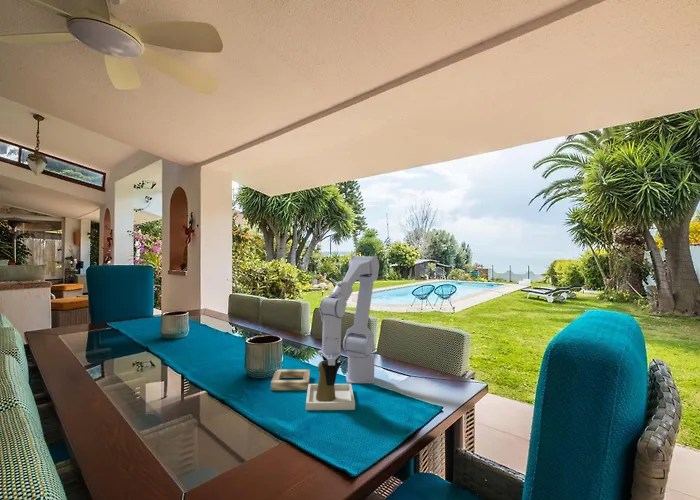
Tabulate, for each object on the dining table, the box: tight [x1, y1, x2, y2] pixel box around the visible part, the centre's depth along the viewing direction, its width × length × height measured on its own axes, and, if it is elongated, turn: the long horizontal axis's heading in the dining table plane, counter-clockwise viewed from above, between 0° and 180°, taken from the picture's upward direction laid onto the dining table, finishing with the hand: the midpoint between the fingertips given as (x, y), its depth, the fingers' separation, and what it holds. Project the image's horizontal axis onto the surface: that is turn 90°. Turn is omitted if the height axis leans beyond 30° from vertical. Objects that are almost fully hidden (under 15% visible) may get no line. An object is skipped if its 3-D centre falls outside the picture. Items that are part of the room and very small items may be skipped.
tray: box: [305, 383, 356, 411], centre depth 103 cm, size 14×14×2 cm
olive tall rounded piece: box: [316, 360, 336, 402], centre depth 103 cm, size 6×6×11 cm
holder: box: [270, 369, 311, 391], centre depth 115 cm, size 12×12×2 cm
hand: (330, 381), depth 103 cm, fingers closed on olive tall rounded piece, 5 cm apart
